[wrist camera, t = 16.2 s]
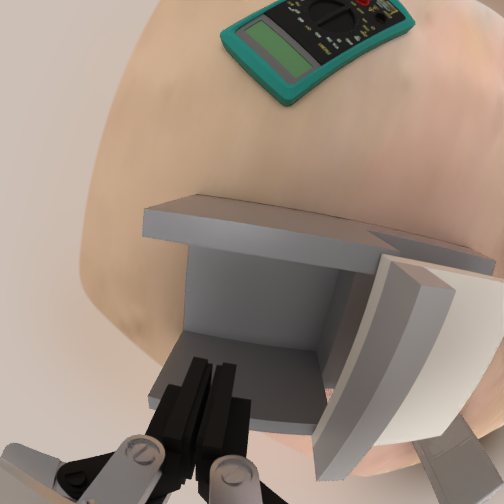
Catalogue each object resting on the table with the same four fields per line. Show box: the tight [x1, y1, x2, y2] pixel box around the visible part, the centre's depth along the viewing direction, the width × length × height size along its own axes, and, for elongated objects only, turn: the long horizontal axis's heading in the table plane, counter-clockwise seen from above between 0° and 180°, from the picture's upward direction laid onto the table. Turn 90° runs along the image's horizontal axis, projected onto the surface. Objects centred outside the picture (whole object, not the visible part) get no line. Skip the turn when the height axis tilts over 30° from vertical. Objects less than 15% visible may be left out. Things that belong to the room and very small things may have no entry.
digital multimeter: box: [220, 0, 415, 106], centre depth 14 cm, size 7×15×3 cm, turn 130°
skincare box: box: [413, 412, 504, 504], centre depth 17 cm, size 8×7×16 cm
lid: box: [312, 254, 504, 481], centre depth 10 cm, size 10×12×4 cm
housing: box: [142, 194, 496, 435], centre depth 16 cm, size 24×12×9 cm, turn 81°
